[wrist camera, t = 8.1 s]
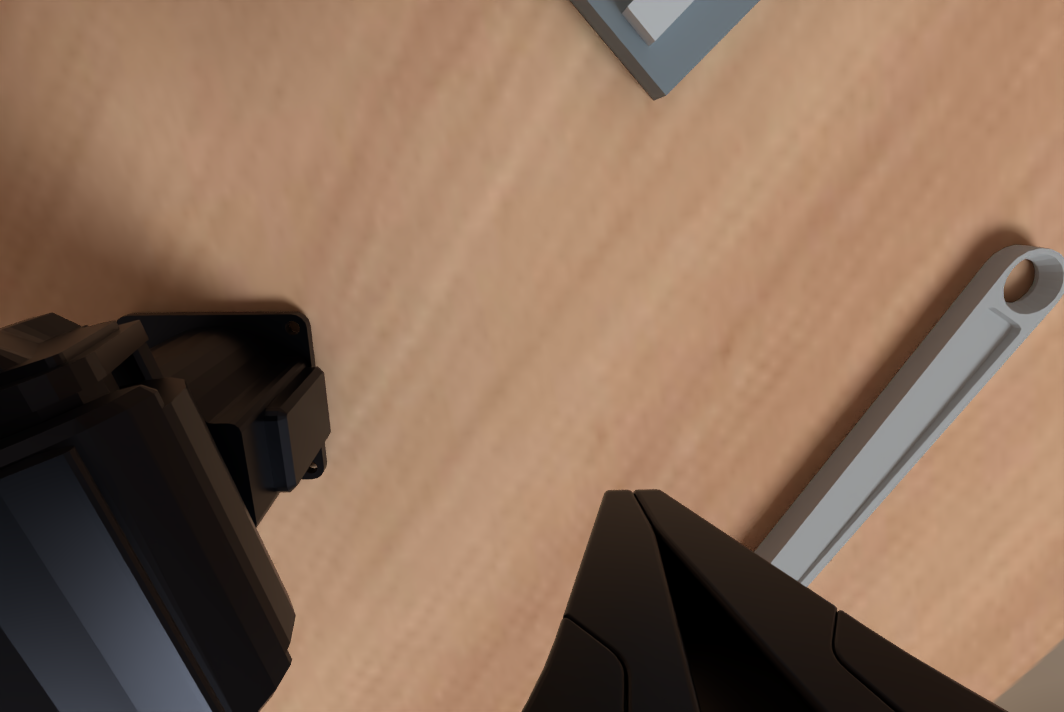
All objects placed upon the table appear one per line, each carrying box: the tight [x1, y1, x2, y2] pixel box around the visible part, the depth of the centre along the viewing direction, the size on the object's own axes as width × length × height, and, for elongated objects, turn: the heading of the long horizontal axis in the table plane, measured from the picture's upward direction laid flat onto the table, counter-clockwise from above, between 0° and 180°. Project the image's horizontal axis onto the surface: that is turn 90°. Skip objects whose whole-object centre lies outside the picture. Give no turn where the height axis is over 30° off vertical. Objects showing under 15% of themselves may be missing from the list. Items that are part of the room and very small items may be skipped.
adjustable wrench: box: [754, 245, 1064, 587], centre depth 24 cm, size 25×6×2 cm, turn 144°
